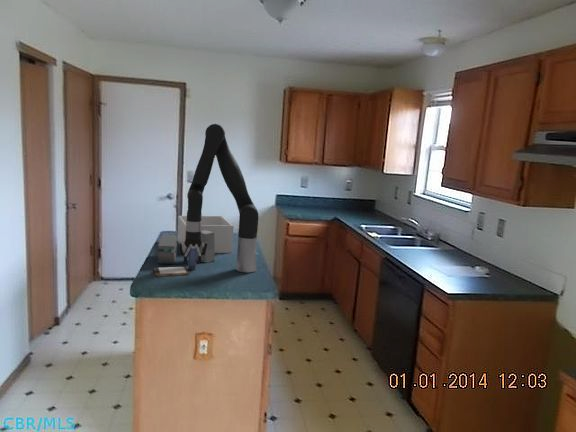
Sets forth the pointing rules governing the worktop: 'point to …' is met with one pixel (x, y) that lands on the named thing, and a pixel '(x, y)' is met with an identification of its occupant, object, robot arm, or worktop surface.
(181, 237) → the storage bin
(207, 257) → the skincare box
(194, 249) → the marker
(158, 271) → the clipboard
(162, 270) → the paper
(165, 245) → the grey curved block
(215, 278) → the worktop surface
